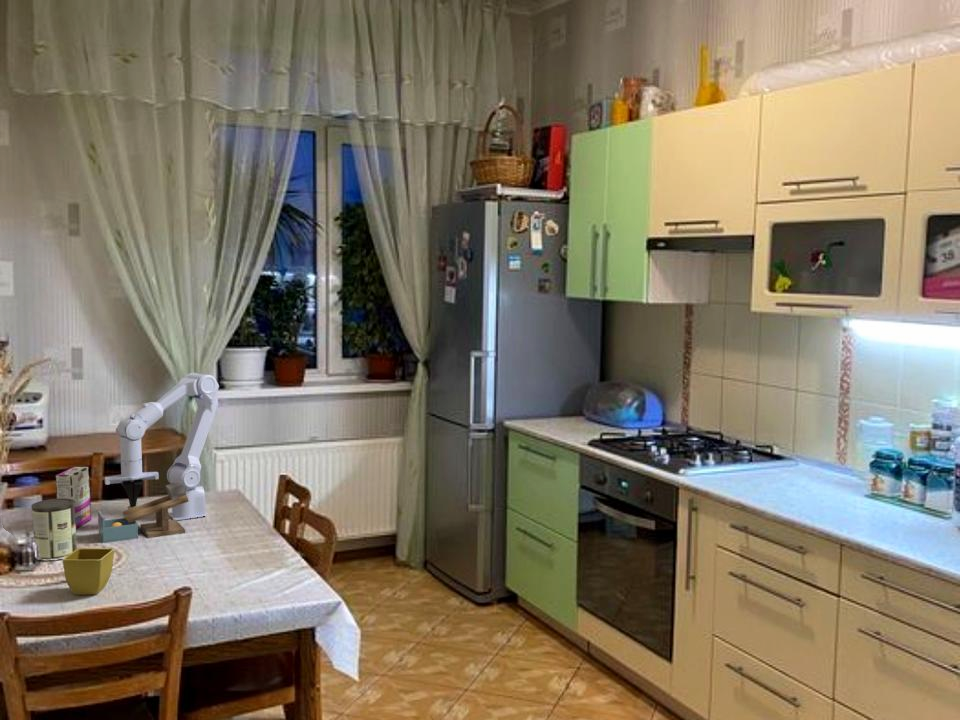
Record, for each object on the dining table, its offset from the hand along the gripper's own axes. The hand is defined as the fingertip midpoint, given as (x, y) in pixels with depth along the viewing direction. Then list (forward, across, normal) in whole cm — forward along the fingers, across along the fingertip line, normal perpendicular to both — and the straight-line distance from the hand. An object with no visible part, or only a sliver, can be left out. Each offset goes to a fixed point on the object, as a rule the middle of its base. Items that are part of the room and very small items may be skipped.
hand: (132, 505), depth 259 cm
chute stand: (+6, +7, -8) cm, 12 cm away
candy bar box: (+7, -14, +12) cm, 20 cm away
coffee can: (+7, -22, -18) cm, 29 cm away
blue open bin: (+6, -5, -8) cm, 11 cm away
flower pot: (+7, -18, -52) cm, 55 cm away
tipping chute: (0, +5, -5) cm, 7 cm away
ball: (+4, -6, -8) cm, 10 cm away
